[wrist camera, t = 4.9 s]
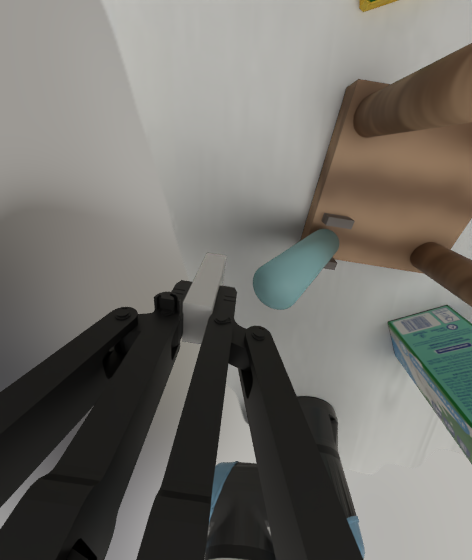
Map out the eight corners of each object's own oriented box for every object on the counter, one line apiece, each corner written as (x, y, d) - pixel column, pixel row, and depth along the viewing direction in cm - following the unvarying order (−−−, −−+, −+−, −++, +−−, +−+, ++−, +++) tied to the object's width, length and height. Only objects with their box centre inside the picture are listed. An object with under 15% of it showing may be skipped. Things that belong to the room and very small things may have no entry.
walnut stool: (415, 269, 33) (586, 390, 16) (297, 250, 33) (343, 352, 16) (512, 115, 23) (1176, 15, 7) (346, 87, 23) (591, -89, 6)
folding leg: (332, 262, 27) (290, 317, 16) (304, 252, 28) (249, 297, 18) (344, 233, 25) (305, 275, 14) (313, 225, 26) (257, 256, 16)
